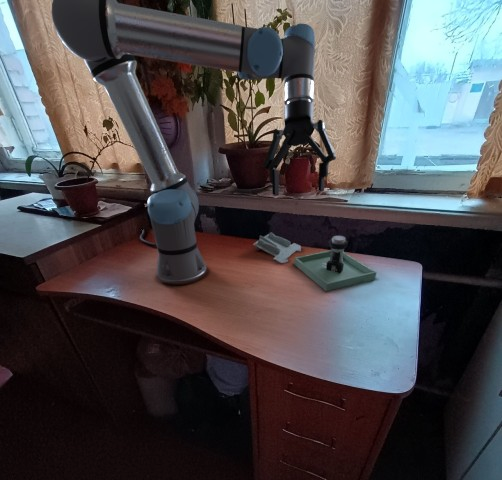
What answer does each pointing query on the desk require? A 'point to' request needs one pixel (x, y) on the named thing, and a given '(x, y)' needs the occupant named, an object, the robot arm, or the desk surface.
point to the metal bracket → (277, 247)
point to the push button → (336, 254)
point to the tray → (334, 280)
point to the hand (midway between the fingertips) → (297, 193)
